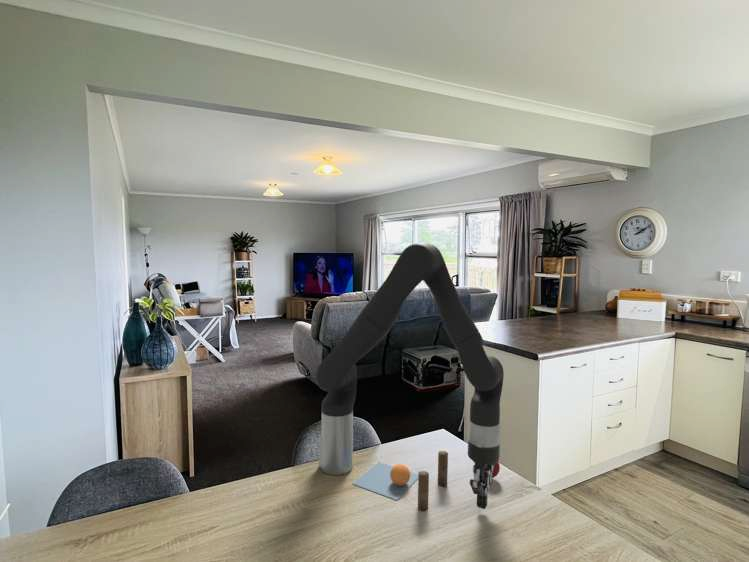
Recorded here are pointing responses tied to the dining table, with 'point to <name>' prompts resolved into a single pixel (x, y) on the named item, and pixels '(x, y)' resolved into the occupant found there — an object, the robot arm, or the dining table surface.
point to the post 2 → (442, 468)
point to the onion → (496, 469)
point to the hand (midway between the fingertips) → (481, 506)
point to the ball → (400, 474)
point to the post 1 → (423, 490)
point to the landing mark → (383, 481)
